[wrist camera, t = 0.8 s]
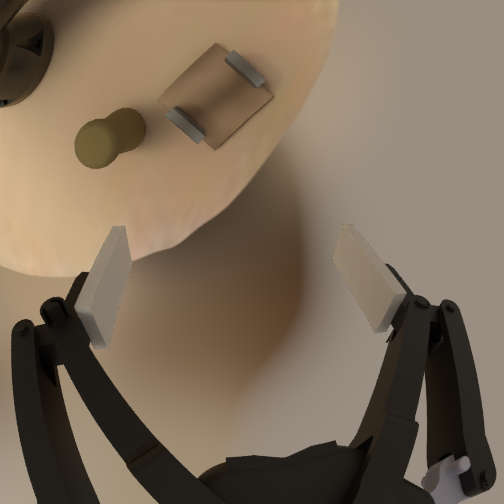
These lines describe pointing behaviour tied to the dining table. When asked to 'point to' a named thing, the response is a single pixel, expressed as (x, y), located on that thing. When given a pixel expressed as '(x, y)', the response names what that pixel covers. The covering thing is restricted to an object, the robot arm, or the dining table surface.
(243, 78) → the stand
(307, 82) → the dining table surface
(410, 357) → the robot arm
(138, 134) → the cork
